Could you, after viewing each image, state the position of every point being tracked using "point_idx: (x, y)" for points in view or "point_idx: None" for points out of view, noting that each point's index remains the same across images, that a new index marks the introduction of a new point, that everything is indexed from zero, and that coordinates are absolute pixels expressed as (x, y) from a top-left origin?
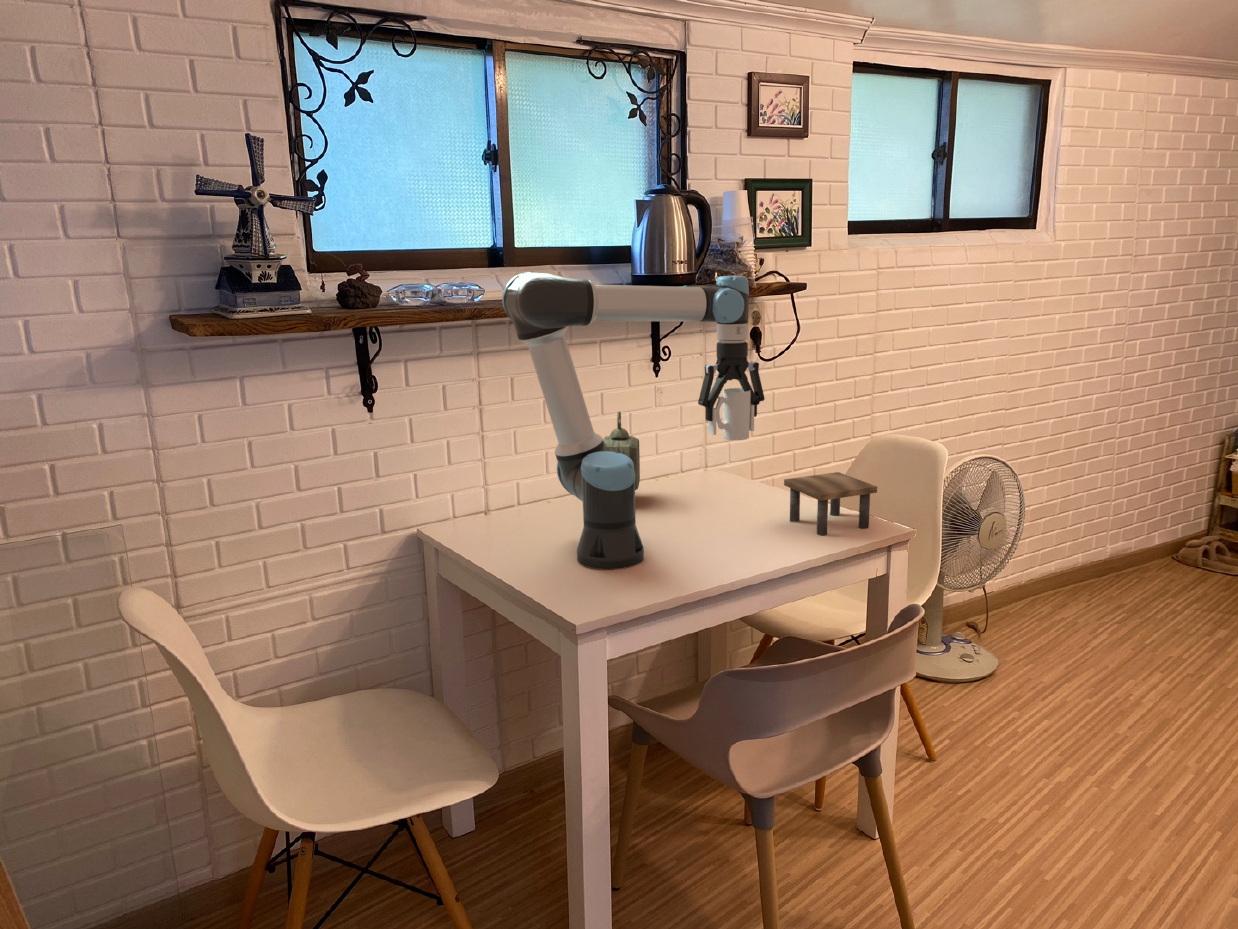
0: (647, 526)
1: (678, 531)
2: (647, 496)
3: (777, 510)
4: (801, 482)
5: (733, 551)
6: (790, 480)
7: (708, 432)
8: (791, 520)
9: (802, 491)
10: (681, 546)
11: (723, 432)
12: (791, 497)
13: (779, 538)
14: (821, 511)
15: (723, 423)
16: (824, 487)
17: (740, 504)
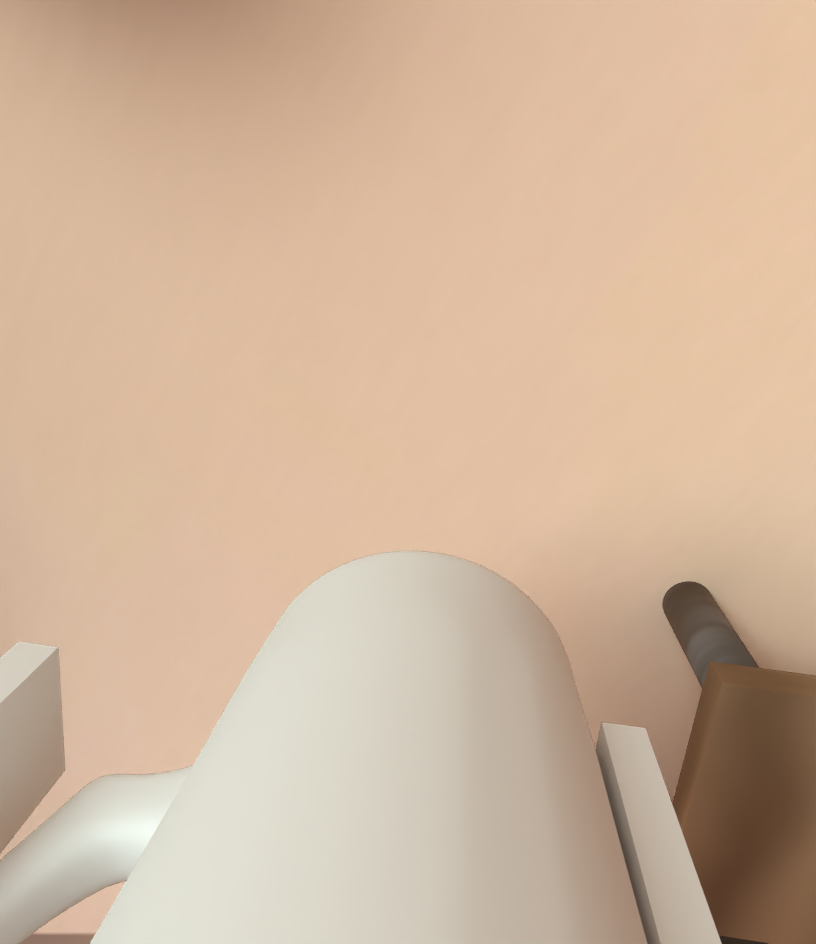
0: (4, 274)
1: (112, 430)
2: None
3: (756, 415)
4: (752, 795)
5: None
6: (734, 726)
7: (13, 649)
8: (664, 609)
9: None
10: (43, 605)
11: (262, 646)
12: (698, 674)
13: None
14: None
15: (109, 885)
16: (772, 934)
17: (671, 187)
